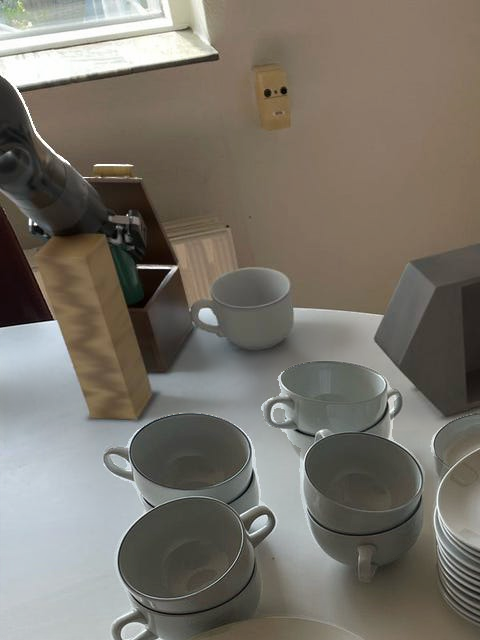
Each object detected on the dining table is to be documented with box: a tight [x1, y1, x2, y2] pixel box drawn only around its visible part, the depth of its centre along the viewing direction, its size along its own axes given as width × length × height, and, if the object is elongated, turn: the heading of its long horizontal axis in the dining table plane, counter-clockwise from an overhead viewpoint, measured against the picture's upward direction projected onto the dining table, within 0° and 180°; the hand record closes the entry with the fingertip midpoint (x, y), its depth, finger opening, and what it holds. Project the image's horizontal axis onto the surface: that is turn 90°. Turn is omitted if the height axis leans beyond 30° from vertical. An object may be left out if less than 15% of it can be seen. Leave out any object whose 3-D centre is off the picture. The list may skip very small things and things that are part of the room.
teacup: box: [189, 266, 295, 351], centre depth 137 cm, size 14×11×8 cm
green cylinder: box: [109, 233, 145, 306], centre depth 130 cm, size 5×5×9 cm
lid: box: [82, 164, 179, 266], centre depth 132 cm, size 14×11×5 cm
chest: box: [127, 265, 195, 374], centre depth 136 cm, size 13×11×9 cm
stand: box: [33, 234, 154, 420], centre depth 121 cm, size 6×6×21 cm
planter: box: [373, 242, 480, 417], centre depth 123 cm, size 17×8×21 cm
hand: (117, 253), depth 130 cm, fingers closed on green cylinder, 5 cm apart
